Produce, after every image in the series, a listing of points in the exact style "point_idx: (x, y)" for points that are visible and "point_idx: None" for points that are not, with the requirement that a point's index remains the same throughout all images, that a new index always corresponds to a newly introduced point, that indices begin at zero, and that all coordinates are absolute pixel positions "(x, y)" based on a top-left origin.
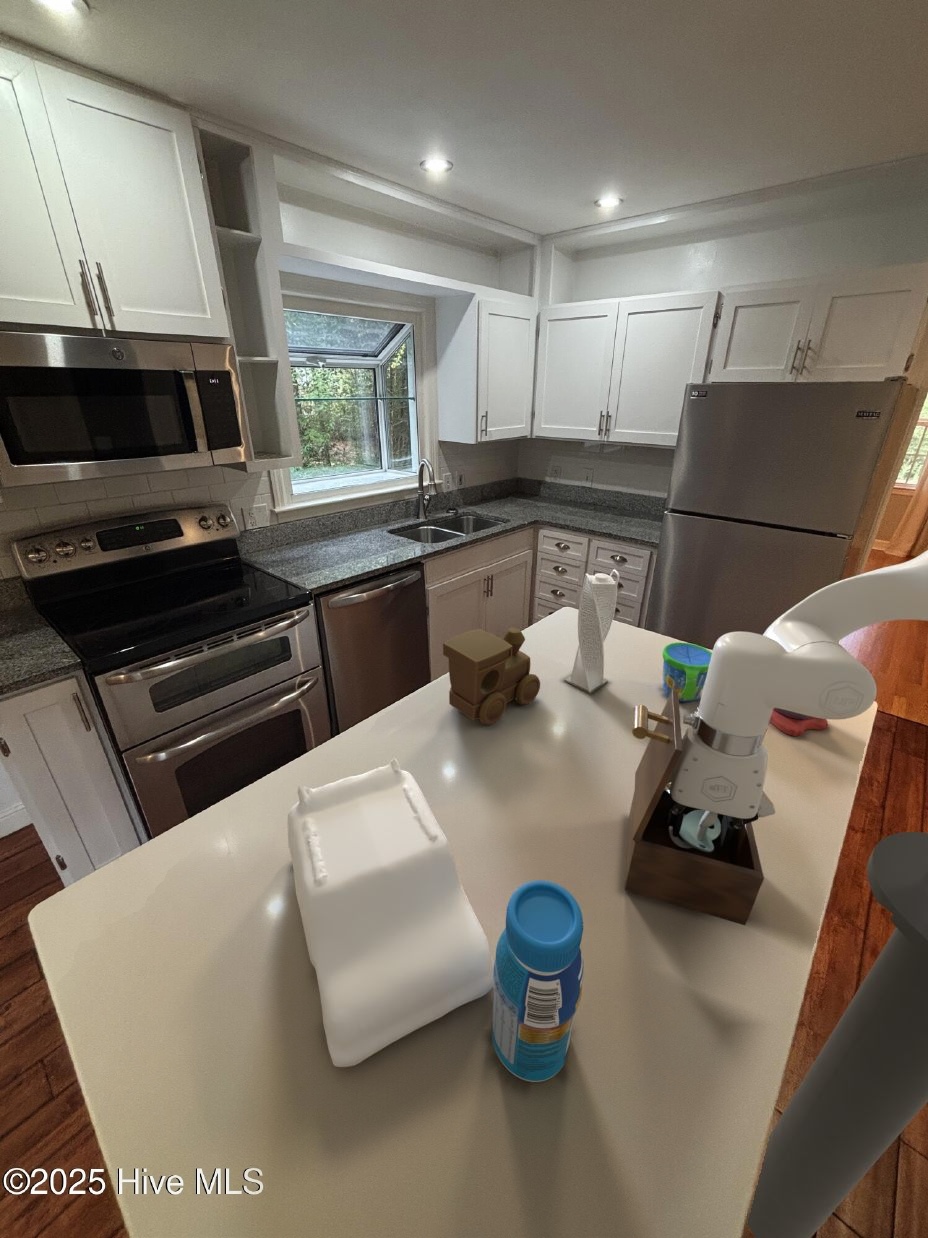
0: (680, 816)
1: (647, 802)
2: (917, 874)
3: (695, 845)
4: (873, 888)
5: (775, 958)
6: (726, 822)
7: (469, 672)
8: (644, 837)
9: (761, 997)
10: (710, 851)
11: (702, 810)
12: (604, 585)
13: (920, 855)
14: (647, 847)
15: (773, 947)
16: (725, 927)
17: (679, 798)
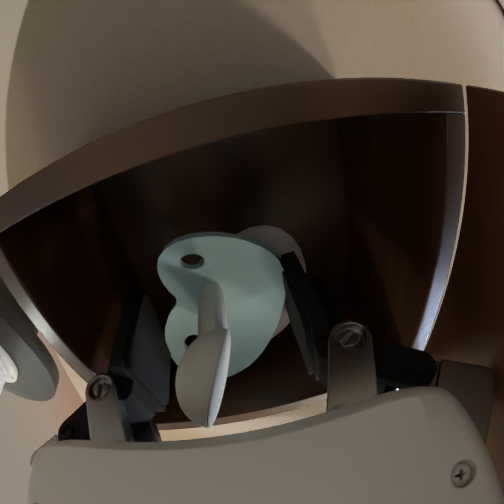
0: (319, 326)
1: None
2: (20, 364)
3: (216, 245)
4: (33, 336)
5: (30, 125)
6: (144, 382)
7: None
8: (326, 241)
9: (44, 35)
10: (161, 253)
11: (231, 374)
12: None
13: (31, 382)
14: (427, 80)
15: (35, 145)
16: (108, 119)
17: (436, 425)
